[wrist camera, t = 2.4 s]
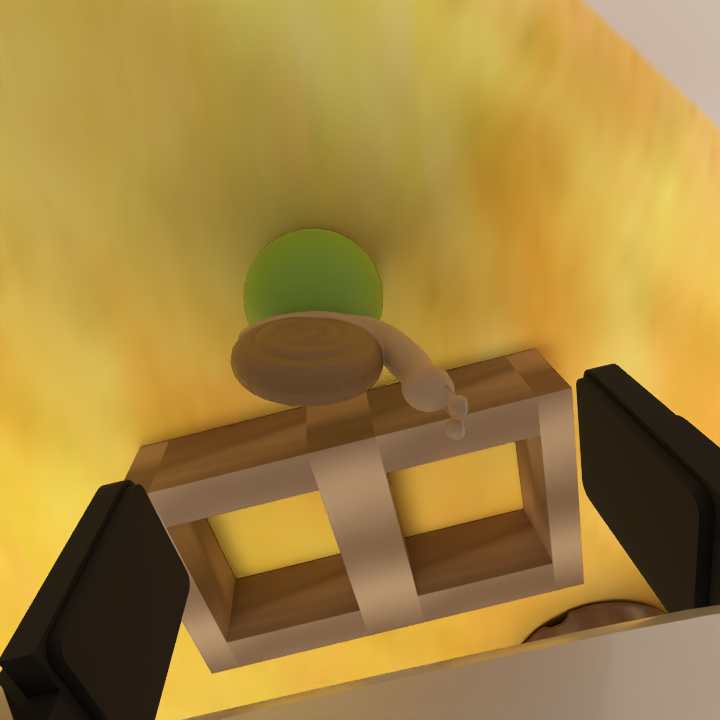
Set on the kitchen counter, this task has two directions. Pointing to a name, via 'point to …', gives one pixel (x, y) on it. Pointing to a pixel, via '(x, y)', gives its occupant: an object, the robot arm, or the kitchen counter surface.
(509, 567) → the brown wooden flat frame
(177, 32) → the kitchen counter surface
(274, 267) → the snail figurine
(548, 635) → the plant pot
